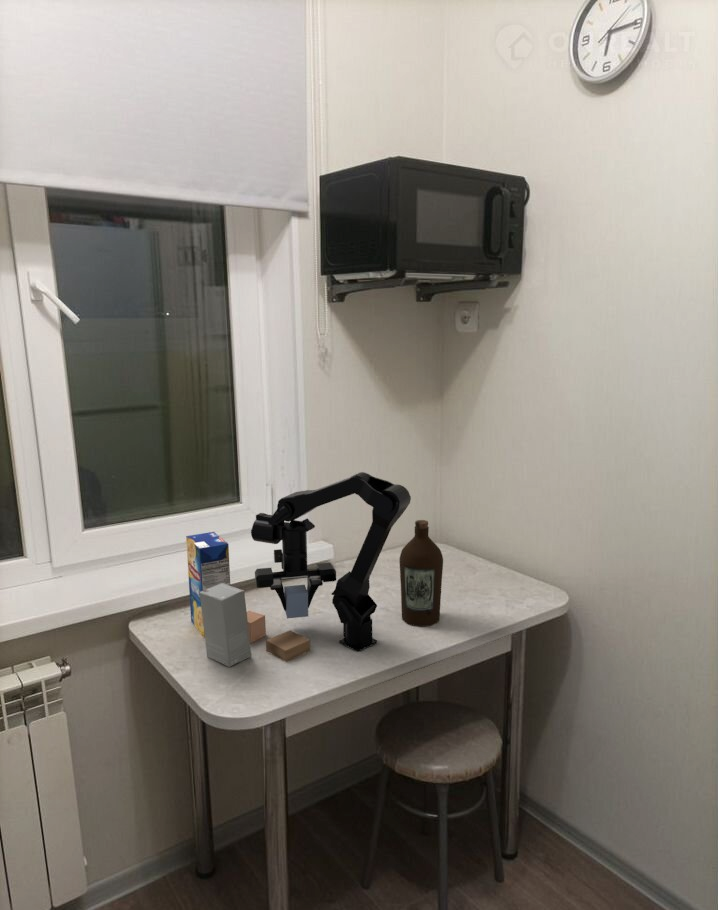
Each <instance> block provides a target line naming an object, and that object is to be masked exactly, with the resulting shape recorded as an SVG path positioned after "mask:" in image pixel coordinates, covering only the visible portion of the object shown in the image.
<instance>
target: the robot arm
mask: <svg viewBox="0 0 718 910" xmlns="http://www.w3.org/2000/svg"><path fill="white" fill-rule="evenodd" d="M352 495H357V496H358V497H360V498H361V499H362V501H363V502H365V504H367V505H369V506H370V507H372V510H371V516H372V518H371V519H372V520H371V521H372V522H371V525H370V527H369V529H368V531H367V534H366V537H365V539H364V541H363V544H362V546H361V548H360V551H359V553H358V555H357V556H356V559H355V561H354V564H353V566H352V569H351V571H350V570H349V571H347V572H346V573H345V574H344V575H342V576H341V577H339V579H337V570H336V568H335V567H334V566H335V565H334V564H332V562H323V563H322V562H321V563H316V567H315V568H309V569H308V537H307V536H308V535H307V533H308V532H309V531H311V530H313V529H315V527H316V525H315V524H314V523H313V522H312V521H310V520H309V518H305V519H303V520H297V519H299V518H301V517H303V516H305V515H307V514H308V513H310V512H312V511H313V510H315V509H316V508H318V507H320V506H322V505H326V504H330V503H331V502H332V503H333V502H334V501H338V500H339V499H343V498H346V497H348V496H352ZM411 499H412V496H411V495H410V492H409V490H408V489H407V487H405V486H404V485H401V484H396V483H395V484H394V483H392V482H391V481H388V480H385V479H382V478H378V477H375V476H373V475H371V474H369V473H368V472H364V471H361V472H357V473H355V474H353V475H352V476H350V477H347V478H344V479H342V480H341V479H340V480H339V481H336V482H334V483H331V484H328V485H326V486H323V487H320V488H317V489H310V490H309V489H307V490H300V491H295V492H293V493H291V494H289V495H286V496H284V497H282V498H280V499H279V500H278V501H277V506H276V510H275V511H274V513H273V514H267V513H264V512H259V513H257V514H256V515H255V520H254V522H253V523H252V527H251V530H250V534H251V536H250V537H251V538H252V540H253V541H255V542H260V543H265V544H266V543H267V544H272V545H277V544H279V543H280V542H281V543H282V545H281V547H282V549H281V548H280V549H274V550H273V562H274V563H276V564H278V563H281V569H282V571H274V572H273V570H272V567H263V568H261V567H259V568H256V569H255V571H254V581H255V586H256V588H258V589H263V588H270V590H271V591H275V592H276V594H277V596H278V598H279V599H280V602H281V605H282V607H283V611H284V612H285V611H286V601H285V595H284V585H283V580H285V581H287V580H295V579H307V583H306V584H307V586H306V589H307V592H308V609H310V606H311V603H312V601H313V597H314V596H315V593H316V592H317V590H318V588H319V587H321V586H323V585H324V583H330V582H336V585H335V588H334V590H333V591H332V593H331V595H332V596H333V597H332V604H333V606H334V608H335V610H336V612H337V615H338V618H339V622H340V623H341V624H342V625H343V628H342V629H343V638H340V639H339V640H338V642H339V643H340V644H341V645H343V646H345V647H347V648H349V649H351V650H353V651H355V652H360V651H362V650H364V649H367V648H368V647H371V646H374V645H375V644H378V640H377V639H375V638H373V619H372V618H371V616H372V615H373V614H374V613H375V612H376V610H377V608H378V604H377V603H376V602H375V600H374V599H373V598H372V597H371V596H370V594H369V591H370V588H371V587H370V577H371V575H372V573H373V571H374V569H375V566H376V564H377V561H378V559H379V557H380V556H381V555H380V554H381V552H382V550H383V547H384V546H385V543H386V542H387V539H388V537H389V535H390V533H391V530H392V528H393V526H394V525H395V524H396V522H397V521H398V520H399V519H400V518H401V516H402V515H403V514H404V512H405V511H406V510H407V508H408V506H409V505H410V503H411Z"/></svg>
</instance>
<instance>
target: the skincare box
mask: <svg viewBox="0 0 718 910" xmlns="http://www.w3.org/2000/svg"><path fill="white" fill-rule="evenodd" d="M245 595H246V594H245V590H244V589H241V588H238V587H235V586H232V585H230V586H229V585H227V584H224V583H221V584H219V585H216V586H214V587H211V588H209V589H206V590H204V591H201V592H200V601H201V609H202V617H203V626H204V634H205V638H204V641H205V650H206V657H208V658H209V659H211V660H213V661H216V662H218V663H220V664H222V665H224V666H227V667H229V668H230V667H231V666H234V665H236V664H238V663H240V662H242V661H245V660H247V659H249V658H251V657H252V650H251V648H252V647H251V643H250V639H249V630H248V621H247V603H246V596H245Z"/></svg>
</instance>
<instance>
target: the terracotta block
mask: <svg viewBox="0 0 718 910" xmlns="http://www.w3.org/2000/svg"><path fill="white" fill-rule="evenodd" d="M246 612H247V621H248V630H249V639H250V644H253V643H255V642H256V641H258V640H260V639H261V638H263V637H265V636H266V635H267V630H266V629H267V628H266V615H265V614H263V613H259V612H256V611H252V610H246Z"/></svg>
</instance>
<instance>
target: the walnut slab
mask: <svg viewBox="0 0 718 910" xmlns="http://www.w3.org/2000/svg"><path fill="white" fill-rule="evenodd" d="M265 651H266V652H267V653H269V654H271V655H273V656H274V657H277V658H278V659H280V660H282V661H284V662H288V661H291V660H293V659H295V658H298V657H300V656H302V655H305V654H307V653H308V652H311V639H309V638H307V637H305V636H302V635H301V634H299V633H296V632H295V631H292V630H288V631H285V632H282V633H280V634H278V635H275V636H273V637H270V638H267V639H265Z"/></svg>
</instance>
